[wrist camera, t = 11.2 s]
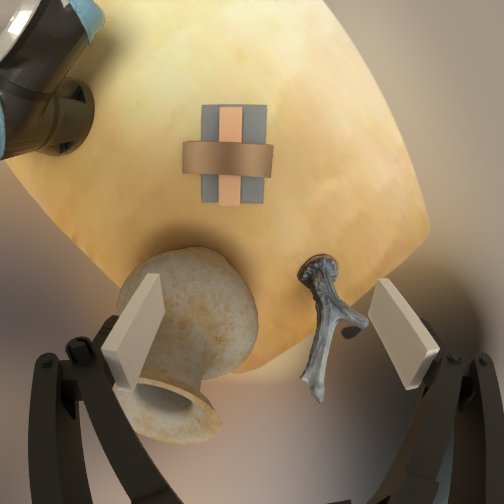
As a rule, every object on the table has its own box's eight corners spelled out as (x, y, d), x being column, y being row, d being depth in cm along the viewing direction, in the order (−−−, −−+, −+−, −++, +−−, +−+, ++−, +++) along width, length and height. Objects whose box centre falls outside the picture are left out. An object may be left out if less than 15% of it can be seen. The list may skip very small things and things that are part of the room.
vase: (254, 327, 57) (255, 461, 29) (153, 321, 56) (104, 439, 29) (260, 227, 48) (269, 356, 20) (138, 224, 47) (38, 326, 20)
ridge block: (202, 200, 46) (194, 212, 39) (203, 105, 39) (194, 100, 33) (262, 202, 46) (264, 213, 40) (266, 105, 39) (268, 100, 33)
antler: (321, 246, 49) (370, 339, 26) (348, 271, 51) (401, 365, 28) (277, 288, 53) (292, 395, 30) (305, 309, 55) (331, 413, 32)
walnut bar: (189, 169, 37) (182, 173, 33) (190, 141, 35) (183, 141, 32) (268, 173, 37) (270, 177, 34) (271, 144, 36) (273, 145, 32)
